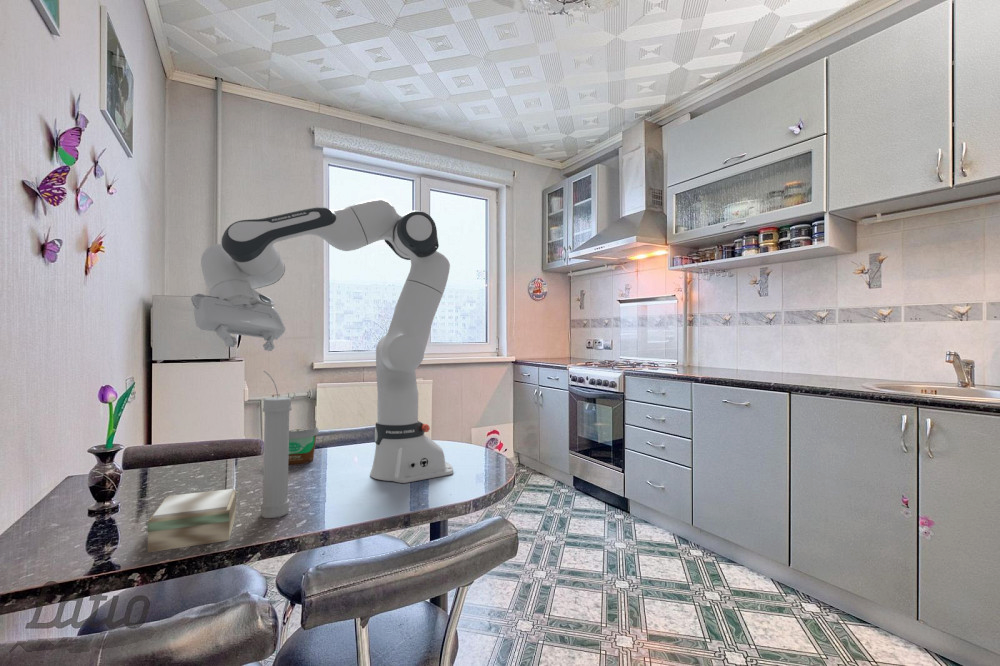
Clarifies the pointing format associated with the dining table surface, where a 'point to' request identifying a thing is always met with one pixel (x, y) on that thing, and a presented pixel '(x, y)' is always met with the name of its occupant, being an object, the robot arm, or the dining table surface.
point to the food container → (301, 446)
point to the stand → (192, 520)
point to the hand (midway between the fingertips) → (251, 347)
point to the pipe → (276, 456)
